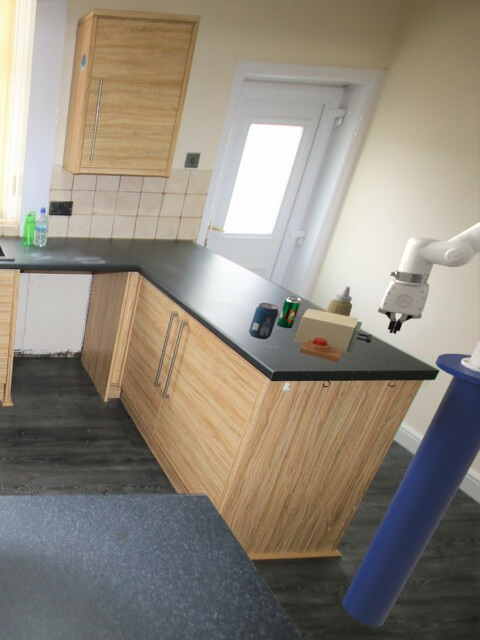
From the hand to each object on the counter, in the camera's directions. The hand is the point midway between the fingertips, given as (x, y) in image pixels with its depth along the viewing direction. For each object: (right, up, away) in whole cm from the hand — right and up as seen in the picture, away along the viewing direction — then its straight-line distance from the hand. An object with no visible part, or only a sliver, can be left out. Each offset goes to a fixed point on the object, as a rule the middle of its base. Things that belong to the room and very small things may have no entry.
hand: (392, 332), depth 155 cm
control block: (-20, -7, +5) cm, 22 cm away
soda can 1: (-33, -1, +18) cm, 38 cm away
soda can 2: (-18, +2, +27) cm, 33 cm away
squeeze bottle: (-2, +1, +25) cm, 25 cm away
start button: (-21, -4, +4) cm, 22 cm away
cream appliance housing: (-13, -4, +14) cm, 20 cm away
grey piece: (-10, -4, +11) cm, 16 cm away
